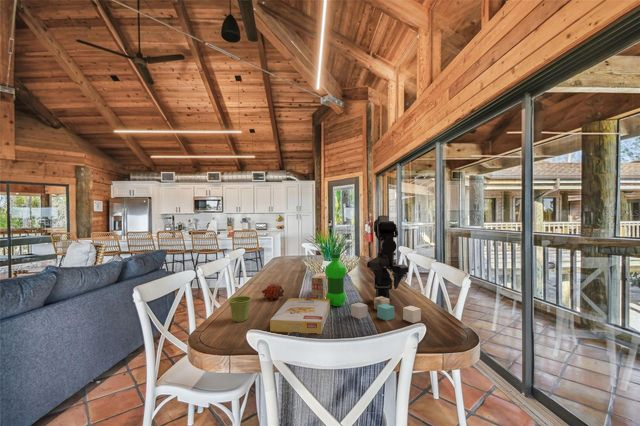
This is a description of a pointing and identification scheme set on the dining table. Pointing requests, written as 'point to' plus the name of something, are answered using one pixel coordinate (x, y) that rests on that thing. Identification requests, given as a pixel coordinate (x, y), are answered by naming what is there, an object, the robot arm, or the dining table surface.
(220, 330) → the dining table surface
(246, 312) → the plant pot
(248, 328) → the dining table surface
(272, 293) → the dragon fruit
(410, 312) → the cream cube
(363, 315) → the pale grey cube
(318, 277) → the printed food carton
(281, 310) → the cereal box
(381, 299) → the light ash cube
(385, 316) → the teal cube
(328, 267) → the plastic bottle
